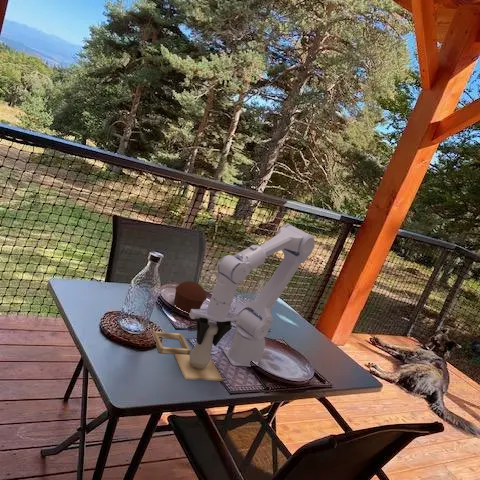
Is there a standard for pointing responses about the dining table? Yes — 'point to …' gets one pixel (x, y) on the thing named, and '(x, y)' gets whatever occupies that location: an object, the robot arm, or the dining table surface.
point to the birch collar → (167, 349)
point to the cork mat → (197, 374)
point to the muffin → (189, 296)
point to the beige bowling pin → (203, 348)
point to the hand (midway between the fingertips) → (206, 343)
